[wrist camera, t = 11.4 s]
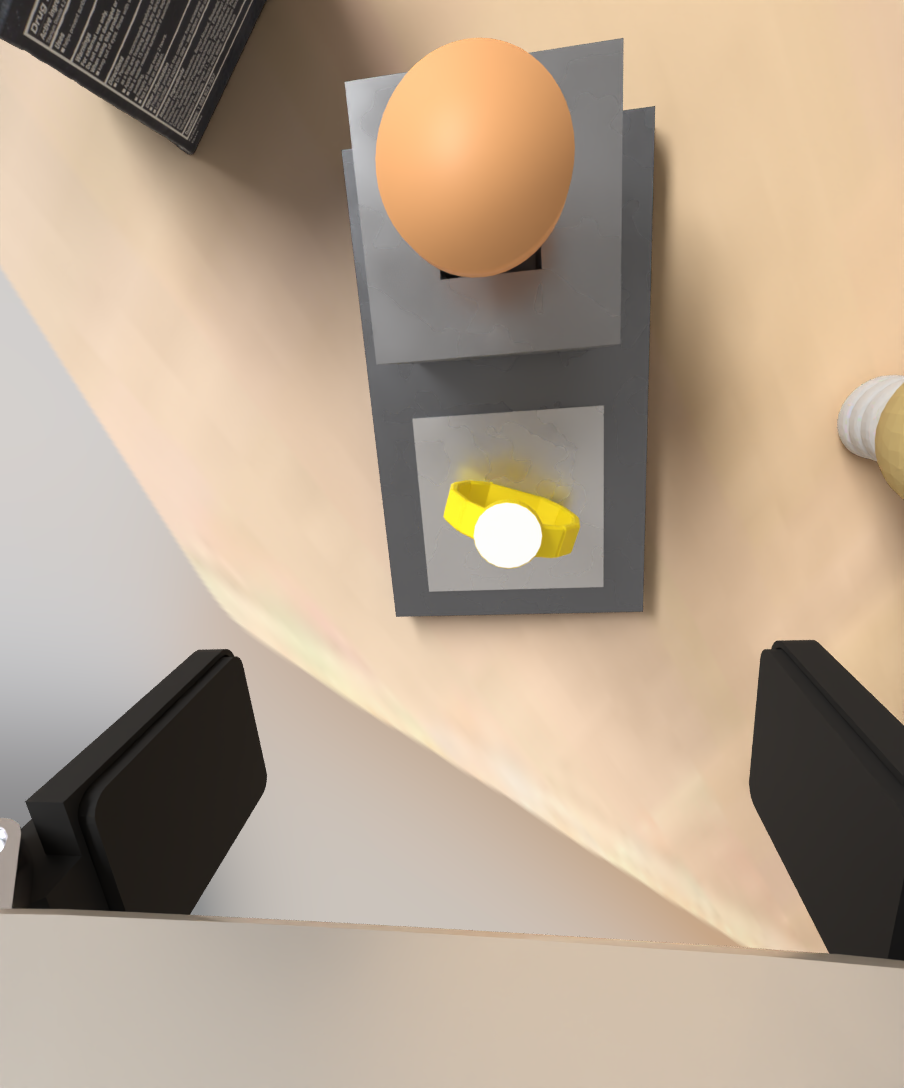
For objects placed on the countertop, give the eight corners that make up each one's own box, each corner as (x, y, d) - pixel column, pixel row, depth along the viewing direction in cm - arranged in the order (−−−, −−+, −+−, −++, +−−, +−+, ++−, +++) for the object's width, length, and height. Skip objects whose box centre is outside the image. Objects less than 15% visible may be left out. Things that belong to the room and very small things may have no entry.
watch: (451, 511, 29) (423, 545, 23) (465, 459, 28) (439, 481, 22) (565, 546, 28) (565, 589, 23) (584, 493, 27) (588, 524, 22)
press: (647, 121, 24) (721, -24, 15) (637, 599, 30) (684, 699, 21) (351, 161, 26) (259, 54, 17) (401, 605, 32) (354, 699, 23)
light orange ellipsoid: (554, 153, 19) (573, 21, 11) (557, 296, 20) (576, 259, 13) (424, 170, 19) (364, 55, 12) (435, 308, 21) (387, 279, 13)
